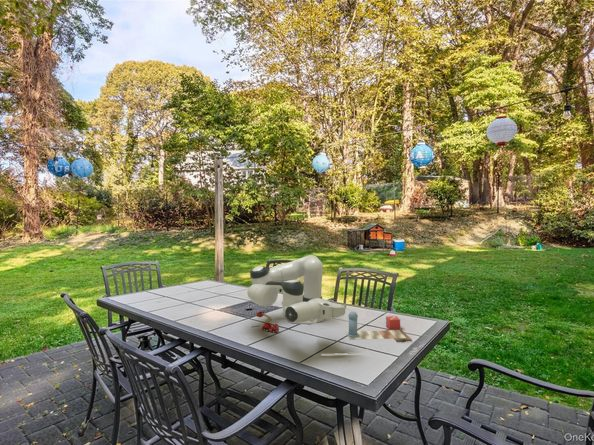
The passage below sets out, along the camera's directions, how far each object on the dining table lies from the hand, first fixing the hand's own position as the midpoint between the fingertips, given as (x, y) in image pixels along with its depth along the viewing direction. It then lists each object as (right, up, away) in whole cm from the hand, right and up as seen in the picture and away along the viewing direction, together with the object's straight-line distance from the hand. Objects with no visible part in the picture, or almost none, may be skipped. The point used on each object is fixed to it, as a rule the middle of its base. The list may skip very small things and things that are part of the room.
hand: (338, 304), depth 166 cm
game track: (+21, -20, +11) cm, 31 cm away
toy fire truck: (-37, -20, +21) cm, 47 cm away
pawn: (+9, -19, +10) cm, 23 cm away
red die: (+34, -20, +24) cm, 46 cm away
